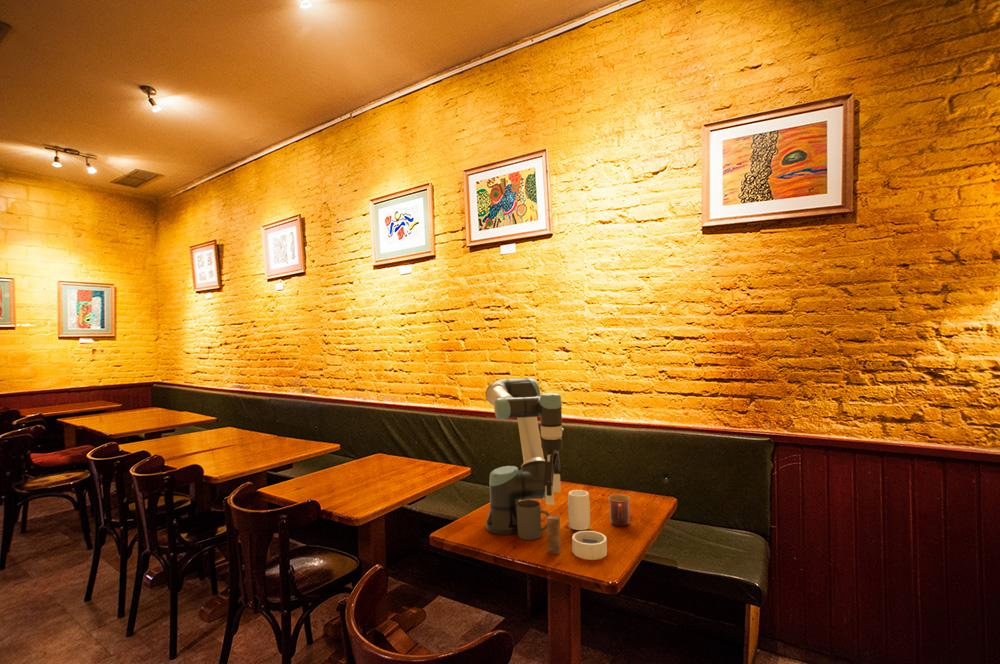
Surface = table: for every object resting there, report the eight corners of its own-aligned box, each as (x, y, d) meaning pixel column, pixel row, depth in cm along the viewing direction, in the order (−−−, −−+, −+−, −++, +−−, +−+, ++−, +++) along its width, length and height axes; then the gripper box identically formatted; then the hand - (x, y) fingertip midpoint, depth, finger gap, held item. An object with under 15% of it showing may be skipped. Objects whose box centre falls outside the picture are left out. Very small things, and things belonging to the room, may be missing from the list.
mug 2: (608, 518, 192) (607, 493, 193) (630, 519, 191) (629, 494, 191) (609, 530, 181) (608, 503, 181) (632, 531, 179) (631, 504, 179)
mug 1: (513, 537, 176) (512, 505, 177) (524, 528, 184) (523, 498, 185) (545, 544, 169) (544, 511, 170) (556, 535, 177) (555, 503, 178)
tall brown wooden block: (547, 553, 163) (546, 518, 163) (549, 550, 165) (548, 515, 165) (559, 554, 161) (558, 519, 162) (560, 551, 164) (559, 516, 164)
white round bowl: (570, 557, 159) (570, 542, 159) (575, 543, 170) (575, 529, 170) (605, 561, 155) (604, 546, 155) (607, 546, 166) (607, 532, 166)
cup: (591, 526, 185) (590, 490, 186) (589, 534, 177) (588, 497, 178) (570, 524, 188) (569, 488, 188) (567, 532, 179) (566, 495, 180)
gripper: (556, 445, 151) (558, 511, 151) (567, 431, 175) (569, 487, 175) (533, 444, 153) (535, 509, 153) (547, 430, 177) (549, 486, 177)
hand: (553, 498), depth 164 cm, fingers open, 13 cm apart
